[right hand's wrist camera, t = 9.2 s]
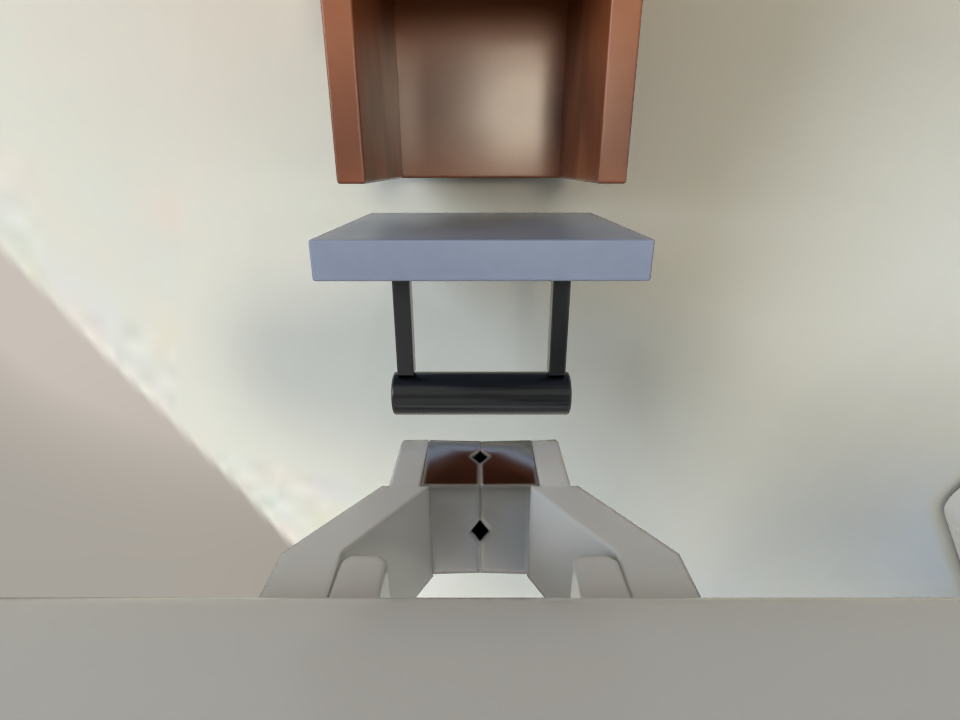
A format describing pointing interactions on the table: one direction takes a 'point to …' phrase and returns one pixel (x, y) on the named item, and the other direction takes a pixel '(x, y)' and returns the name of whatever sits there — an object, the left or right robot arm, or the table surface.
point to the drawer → (481, 163)
